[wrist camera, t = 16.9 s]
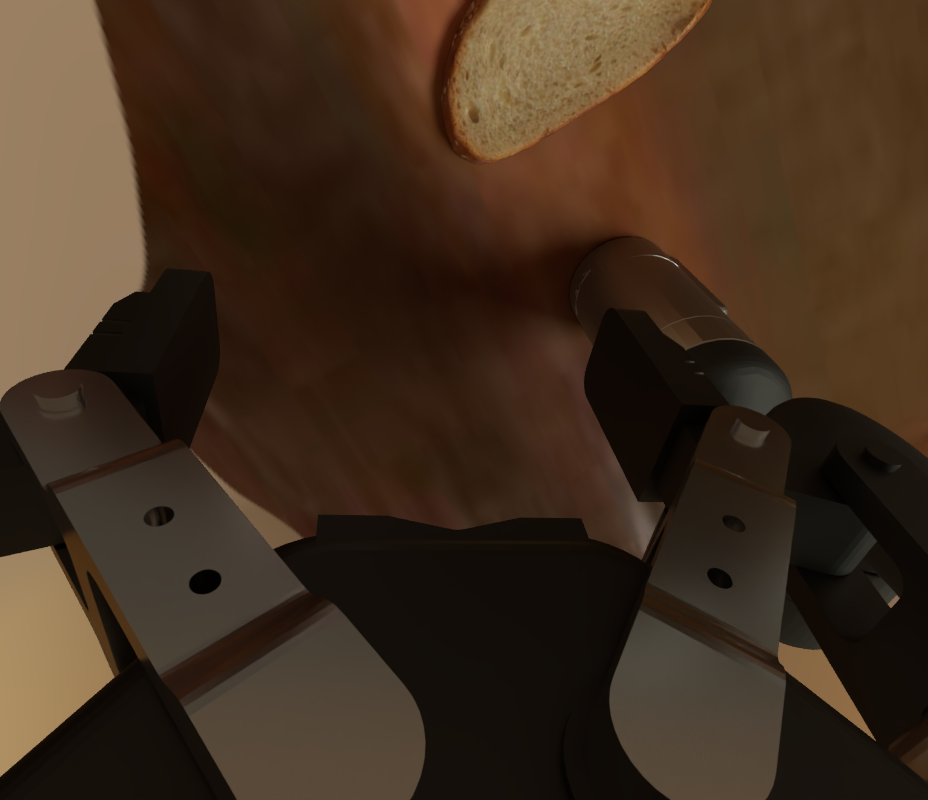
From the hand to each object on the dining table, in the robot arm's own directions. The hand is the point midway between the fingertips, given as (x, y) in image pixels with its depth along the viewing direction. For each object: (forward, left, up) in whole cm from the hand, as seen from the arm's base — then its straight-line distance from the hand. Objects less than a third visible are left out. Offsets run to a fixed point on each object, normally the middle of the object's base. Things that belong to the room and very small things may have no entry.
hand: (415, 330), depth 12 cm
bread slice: (-13, -4, -37) cm, 39 cm away
